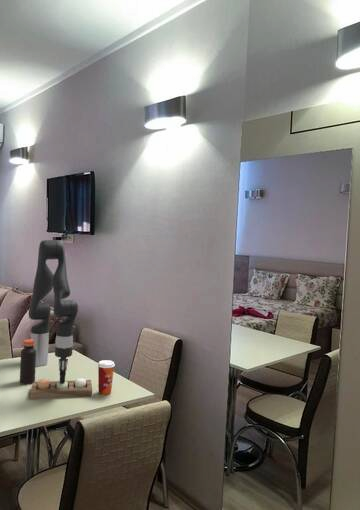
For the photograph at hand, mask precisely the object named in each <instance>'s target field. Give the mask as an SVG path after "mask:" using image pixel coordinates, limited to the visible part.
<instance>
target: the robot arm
mask: <svg viewBox="0 0 360 510" xmlns="http://www.w3.org/2000/svg"><path fill="white" fill-rule="evenodd" d="M37 257H38V258H37V267H36V272H35V275H34V276H35V277H34V282H33V289H32V294H31V295H32V296H31V300H30V304H29V308H28V317H29V320H33V321H38V320H39V321H40V320H41V321H40V322H39V323H37V324H35V325H32V326H31V328H30V339H33V340H35V344H34V349H35V350H36V367H42V366H46V365H48V361H49V359H48V357H49V356H48V355H49V337H50V321H51V311H52V310H51V309H53V313H54V315H55V317H58V318H63V317H66V318H65V319H64V320H62V321H61V320H60V321H59V322H58V323H56V332H55V333H56V334H55V335H56V336H55V343H54V345H55V346H54V355H55V357H57V358H58V371H59V381H60V384H64V383H65V381H66V373H67V371H68V364H69V358H70V357H71V356H73V350H74V349H73V348H74V347H73V346H74V337H73V334H74V324H75V321H76V318H77V315H78V311H79V305H78V303H77V302H76V300H64V299H66V298H68V297H70V295H71V289H70V286H69V281H68V274H67V264H66V263H67V262H66V261H67V260H66V252H65V245H64V243H63V241H62V240H60V239H46V240H45V239H44V240H41V241H40V243H39V246H38V256H37ZM47 260H57V263H58V264H57V267H56V270H55V272H54V273H53V272H52V270H51V269H50V267H49V266H48V264H47ZM52 290H53V294H54V295H53V298H54V299H53V308H51V303H50V302H48V301H47V302H46V301H43V302H41V301H42V300H43V299H45V298H46V296H47V295H49V293H50V292H52Z"/></svg>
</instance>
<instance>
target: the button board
mask: <svg viewBox="0 0 360 510" xmlns="http://www.w3.org/2000/svg"><path fill="white" fill-rule="evenodd" d="M59 381H60V380H51V381H50V380H49V389H38V381H35V382H33V383H32V384H31V388H30V391H29V400H36V399H37V400H38V399H39V400H40V398H41V400H42V398H43V399H59V398H60V399H61V398H62V399H63V398H64V399H65V397H67V398H85V397H88V398H89V397H93V386H92V379H86V387H85V388H75V380H65V381H66V382H68V388H58V389H56V387H57V382H59Z"/></svg>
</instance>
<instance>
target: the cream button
mask: <svg viewBox="0 0 360 510" xmlns="http://www.w3.org/2000/svg"><path fill="white" fill-rule="evenodd" d="M86 380H87V379H86V378H84V377H77V378H75V380H74V381H75V388H85V387H86Z"/></svg>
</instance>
